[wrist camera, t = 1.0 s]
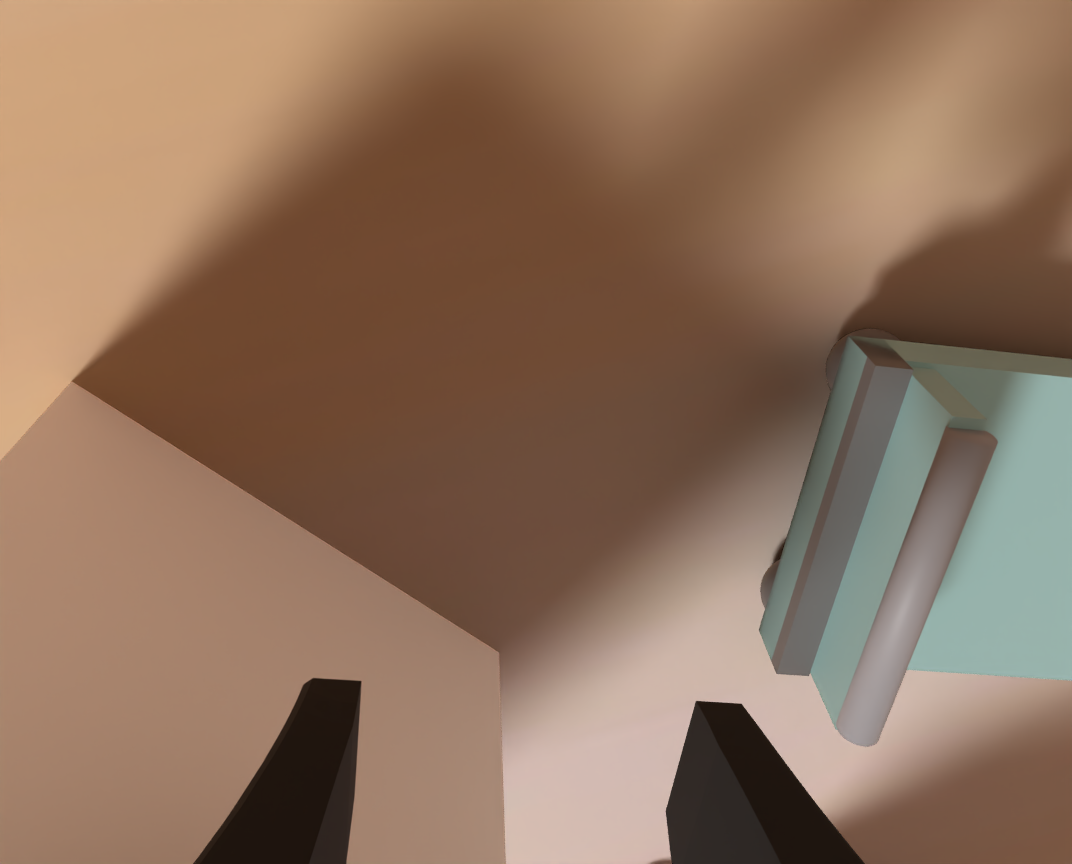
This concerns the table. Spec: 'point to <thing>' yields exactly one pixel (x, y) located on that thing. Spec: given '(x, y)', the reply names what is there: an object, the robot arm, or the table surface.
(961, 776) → the table surface
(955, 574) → the trolley
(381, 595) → the storage container
